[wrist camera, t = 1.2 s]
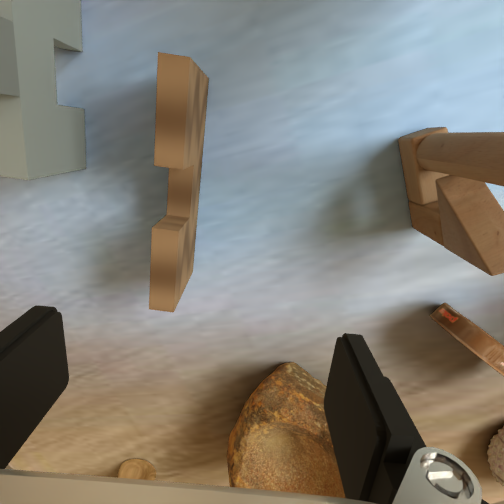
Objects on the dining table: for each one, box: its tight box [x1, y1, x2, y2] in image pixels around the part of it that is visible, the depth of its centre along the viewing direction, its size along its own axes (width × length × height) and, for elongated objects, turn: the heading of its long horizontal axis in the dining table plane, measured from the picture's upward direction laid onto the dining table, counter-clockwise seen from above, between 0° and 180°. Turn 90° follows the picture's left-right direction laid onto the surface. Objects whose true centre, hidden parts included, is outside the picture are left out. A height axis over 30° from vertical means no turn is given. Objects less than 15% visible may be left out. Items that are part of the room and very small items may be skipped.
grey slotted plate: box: [0, 0, 86, 180], centre depth 27 cm, size 18×2×16 cm, turn 172°
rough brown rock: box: [227, 362, 345, 498], centre depth 41 cm, size 23×17×15 cm
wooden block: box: [398, 127, 504, 276], centre depth 29 cm, size 4×11×18 cm, turn 18°
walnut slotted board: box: [149, 52, 209, 312], centre depth 33 cm, size 22×2×10 cm, turn 172°
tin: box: [429, 303, 504, 376], centre depth 40 cm, size 15×3×8 cm, turn 53°
